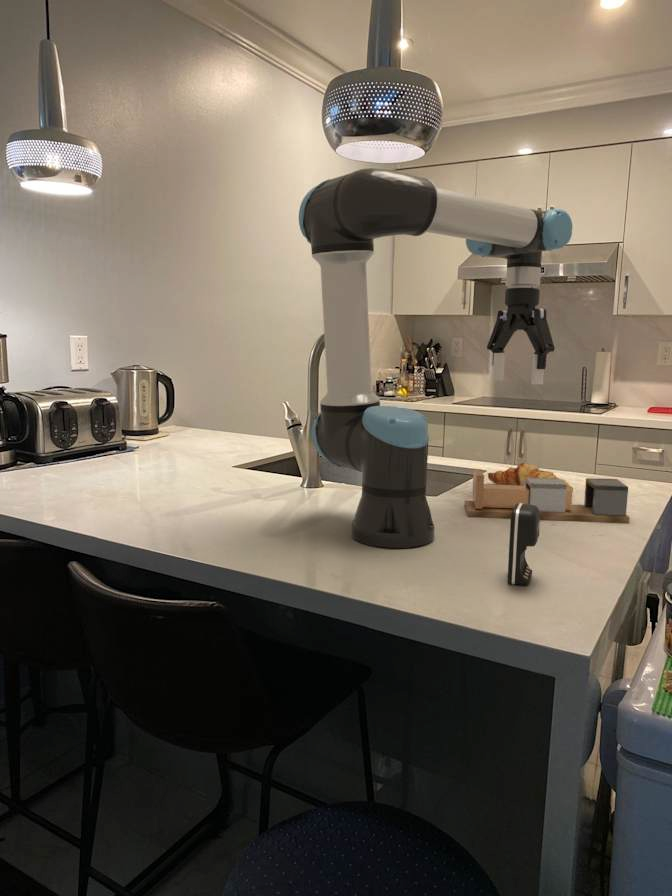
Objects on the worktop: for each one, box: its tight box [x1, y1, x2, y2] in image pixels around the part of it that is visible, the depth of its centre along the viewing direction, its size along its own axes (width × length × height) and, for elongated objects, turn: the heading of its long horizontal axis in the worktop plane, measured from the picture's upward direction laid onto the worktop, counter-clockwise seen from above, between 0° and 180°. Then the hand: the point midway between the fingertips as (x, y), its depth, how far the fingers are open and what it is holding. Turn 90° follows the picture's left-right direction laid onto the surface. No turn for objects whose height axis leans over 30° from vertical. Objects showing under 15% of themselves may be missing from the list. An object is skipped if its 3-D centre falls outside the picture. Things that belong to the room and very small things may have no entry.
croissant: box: [487, 462, 574, 493], centre depth 163 cm, size 21×10×8 cm, turn 55°
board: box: [464, 500, 630, 524], centre depth 141 cm, size 32×9×1 cm, turn 84°
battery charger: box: [506, 503, 541, 586], centre depth 102 cm, size 7×4×11 cm, turn 159°
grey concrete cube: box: [525, 478, 567, 513], centre depth 140 cm, size 7×7×6 cm
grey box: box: [583, 477, 629, 516], centre depth 139 cm, size 6×8×6 cm
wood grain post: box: [471, 468, 573, 510], centre depth 141 cm, size 20×7×7 cm, turn 84°
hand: (516, 382), depth 155 cm, fingers open, 13 cm apart
